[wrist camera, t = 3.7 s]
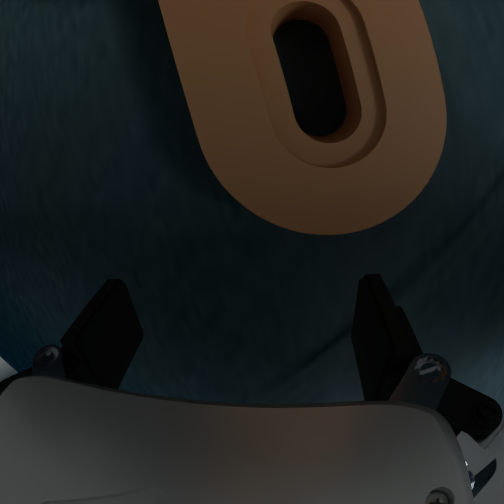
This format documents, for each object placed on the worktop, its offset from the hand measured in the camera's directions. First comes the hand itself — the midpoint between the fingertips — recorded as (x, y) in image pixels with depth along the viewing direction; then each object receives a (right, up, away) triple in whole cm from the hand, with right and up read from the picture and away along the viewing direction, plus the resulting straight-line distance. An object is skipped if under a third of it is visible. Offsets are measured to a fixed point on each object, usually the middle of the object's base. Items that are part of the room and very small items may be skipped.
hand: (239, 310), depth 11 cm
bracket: (+2, +12, -3) cm, 13 cm away
